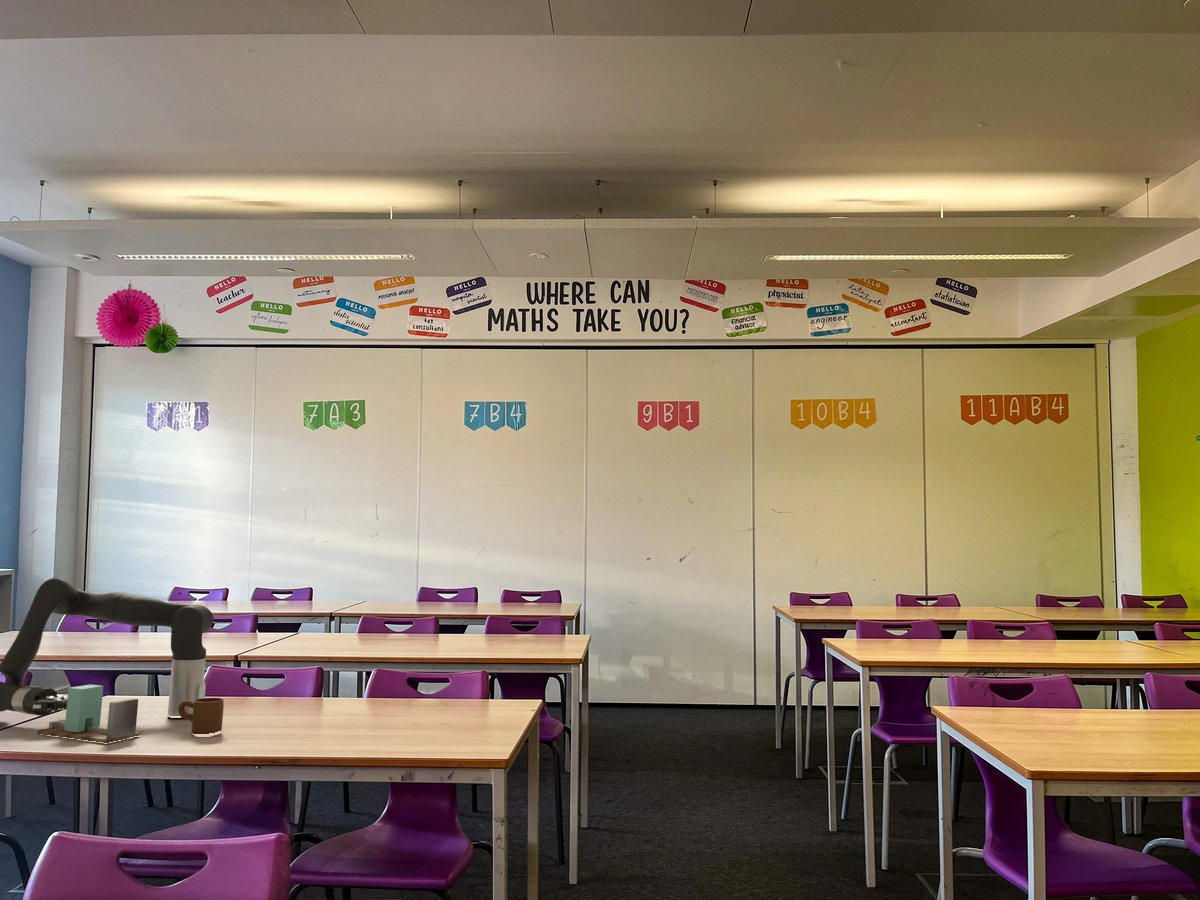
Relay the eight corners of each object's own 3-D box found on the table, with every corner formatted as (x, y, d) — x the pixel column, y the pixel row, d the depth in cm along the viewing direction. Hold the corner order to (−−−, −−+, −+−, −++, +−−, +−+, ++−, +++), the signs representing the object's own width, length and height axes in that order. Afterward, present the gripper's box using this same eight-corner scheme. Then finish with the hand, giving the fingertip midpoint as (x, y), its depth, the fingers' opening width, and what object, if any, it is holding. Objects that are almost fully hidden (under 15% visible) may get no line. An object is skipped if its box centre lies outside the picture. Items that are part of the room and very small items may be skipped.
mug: (169, 737, 224) (172, 701, 225) (183, 731, 231) (186, 696, 232) (213, 738, 224) (216, 702, 225) (226, 732, 231) (228, 697, 232)
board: (37, 734, 223) (37, 730, 224) (72, 727, 233) (72, 723, 233) (106, 744, 214) (106, 739, 214) (139, 737, 223) (140, 732, 223)
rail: (43, 729, 225) (46, 695, 226) (67, 724, 231) (71, 691, 233) (111, 738, 215) (115, 703, 217) (135, 733, 222) (138, 699, 223)
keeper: (64, 730, 222) (68, 687, 224) (86, 726, 228) (90, 684, 230) (77, 732, 221) (81, 689, 222) (99, 727, 227) (103, 685, 228)
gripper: (12, 690, 227) (55, 695, 221) (58, 683, 239) (101, 688, 233) (9, 718, 226) (52, 724, 220) (56, 710, 238) (98, 715, 232)
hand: (77, 705), depth 226 cm, fingers closed
